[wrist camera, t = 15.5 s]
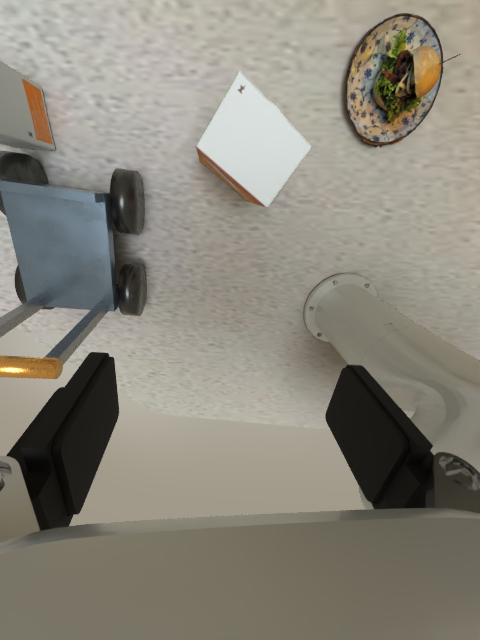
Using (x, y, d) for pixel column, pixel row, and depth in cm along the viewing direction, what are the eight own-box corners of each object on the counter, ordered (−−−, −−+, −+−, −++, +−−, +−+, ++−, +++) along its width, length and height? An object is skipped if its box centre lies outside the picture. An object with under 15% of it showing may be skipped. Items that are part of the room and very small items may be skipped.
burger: (354, 12, 28) (398, -43, 22) (448, 30, 30) (517, -16, 23) (328, 142, 33) (358, 130, 27) (410, 152, 35) (458, 143, 28)
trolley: (143, 173, 33) (52, 148, 14) (147, 304, 40) (91, 405, 21) (25, 155, 31) (-278, 96, 11) (53, 296, 38) (-101, 401, 19)
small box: (198, 161, 33) (193, 145, 21) (227, 112, 31) (239, 65, 19) (248, 203, 35) (267, 209, 24) (278, 160, 34) (314, 145, 22)
